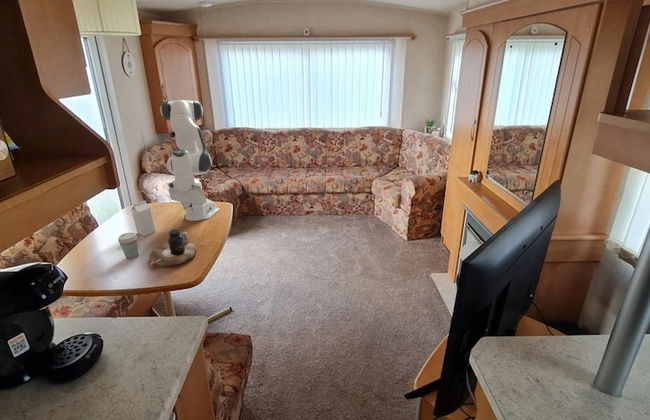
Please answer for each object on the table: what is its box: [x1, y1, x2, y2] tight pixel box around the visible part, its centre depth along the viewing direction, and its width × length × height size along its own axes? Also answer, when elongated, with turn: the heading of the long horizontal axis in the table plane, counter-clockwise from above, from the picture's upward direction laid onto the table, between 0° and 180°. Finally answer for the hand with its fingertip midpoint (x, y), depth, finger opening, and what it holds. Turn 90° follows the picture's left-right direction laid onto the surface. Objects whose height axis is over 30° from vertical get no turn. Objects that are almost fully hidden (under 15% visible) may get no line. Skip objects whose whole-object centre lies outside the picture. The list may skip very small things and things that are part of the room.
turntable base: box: [149, 261, 187, 271], centre depth 182 cm, size 22×18×4 cm
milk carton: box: [131, 199, 156, 237], centre depth 207 cm, size 7×7×19 cm
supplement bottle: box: [167, 228, 185, 255], centre depth 180 cm, size 7×7×12 cm
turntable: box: [148, 231, 197, 267], centre depth 182 cm, size 22×22×8 cm
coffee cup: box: [117, 232, 140, 260], centre depth 183 cm, size 8×8×12 cm
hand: (190, 210), depth 180 cm, fingers open, 3 cm apart
